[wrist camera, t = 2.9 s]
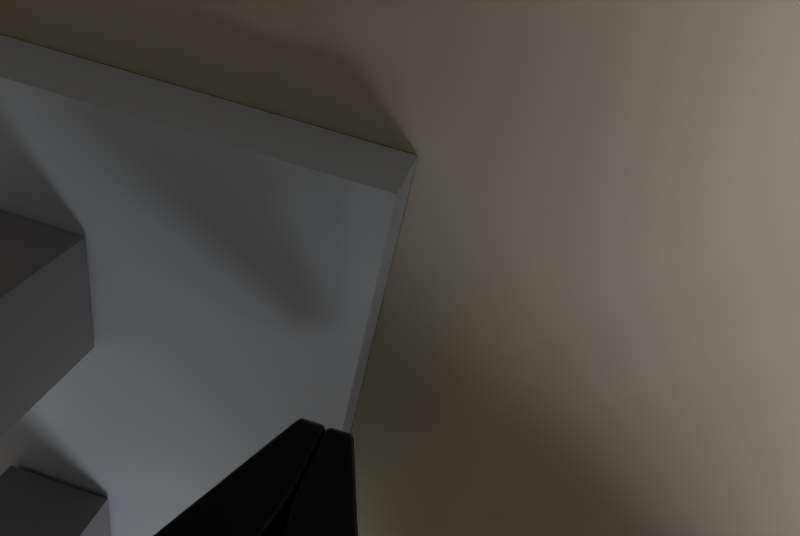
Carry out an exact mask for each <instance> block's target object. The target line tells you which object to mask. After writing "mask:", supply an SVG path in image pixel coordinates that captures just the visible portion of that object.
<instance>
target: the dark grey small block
mask: <svg viewBox="0 0 800 536" xmlns="http://www.w3.org/2000/svg"><path fill="white" fill-rule="evenodd" d="M0 536H111V533H110V522H109V510H108V499H106V498H103V497H100V496H97V495H94V494H91V493H88V492H85V491H83V490H80V489H77V488H74V487H71V486H68V485H65V484H62V483H59V482H57V481H54V480H51V479H48V478H45V477H42V476H39V475H36V474H34V473H31V472H28V471H25V470H22V469H19V468H16V467H13V466H10V467H9V468H8V469H7V470H6V471H5V472H4V473H3V474H2V475H1V476H0Z"/></svg>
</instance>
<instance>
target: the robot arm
mask: <svg viewBox="0 0 800 536" xmlns="http://www.w3.org/2000/svg"><path fill="white" fill-rule="evenodd" d="M153 536H358V526H357V503H356V480H355V457H354V438H353V436H352V435H351V434H350V433H347V432H344V431H341V430H338V429H335V428H327V429H325V427H324V425H322V424H319V423H316V422H313V421H310V420H307V419H303V418H301V419H298V420H297V421H295V422H294V423H293V424H291V425H290V426H289V427H288V428H286V429H285V430H284V431H283V432H281V433H280V434H279V435H278V436H276V437H275V438H274V439H273V440H271V441H270V442H269V443H268V444H266V445H265V446H264V447H263V448H261V449H260V450H259V451H258V452H256V453H255V454H254V455H253V456H251V457H250V458H249V459H248V460H246V461H245V462H244V463H243V464H241V465H240V466H239V467H238V468H237V469H235V470H234V471H233V472H232V473H230V474H229V475H228V476H227V477H225V478H224V479H223V480H222V481H220V482H219V483H218V484H217V485H215V486H214V487H213V488H212V489H210V490H209V491H208V492H207V493H205V494H204V495H203V496H202V497H200V498H199V499H198V500H197V501H195V502H194V503H193V504H192V505H190V506H189V507H188V508H187V509H185V510H184V511H183V512H182V513H180V514H179V515H178V516H177V517H176V518H174V519H173V520H172V521H171V522H169V523H168V524H167V525H166V526H164V527H163V528H162V529H161V530H159V531H158V532H157V533H156V534H154V535H153Z"/></svg>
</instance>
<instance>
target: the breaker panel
mask: <svg viewBox="0 0 800 536" xmlns="http://www.w3.org/2000/svg"><path fill="white" fill-rule="evenodd" d="M417 157H418V156H416V155H413V154H409V153H406V152H403V151H399V150H396V149H392V148H389V147H385V146H382V145H379V144H375V143H372V142H368V141H365V140H361V139H358V138H354V137H351V136H348V135H344V134H341V133H337V132H334V131H330V130H327V129H324V128H320V127H317V126H313V125H310V124H306V123H303V122H300V121H296V120H293V119H289V118H286V117H282V116H279V115H275V114H272V113H269V112H265V111H262V110H258V109H255V108H251V107H248V106H245V105H241V104H238V103H234V102H231V101H227V100H224V99H221V98H217V97H214V96H210V95H207V94H203V93H200V92H196V91H193V90H190V89H186V88H183V87H179V86H176V85H172V84H169V83H166V82H162V81H159V80H155V79H152V78H148V77H145V76H142V75H138V74H135V73H131V72H128V71H124V70H121V69H117V68H114V67H111V66H107V65H104V64H100V63H97V62H93V61H90V60H87V59H83V58H80V57H76V56H73V55H69V54H66V53H63V52H59V51H56V50H52V49H49V48H45V47H42V46H38V45H35V44H32V43H28V42H25V41H21V40H18V39H14V38H11V37H8V36H4V35H1V34H0V211H1V212H5V213H8V214H11V215H14V216H17V217H21V218H24V219H27V220H30V221H33V222H36V223H40V224H43V225H46V226H49V227H52V228H56V229H59V230H62V231H65V232H68V233H71V234H75V235H78V236H81V237H84V238H85V249H86V260H87V271H88V283H89V294H90V305H91V317H92V328H93V340H94V348H93V349H92V350H91V351H90V352H89V353H88V354H87V355H86V356H85V357H84V358H83V359H82V360H80V361H79V362H78V363H77V364H76V365H75V366H74V367H73V368H72V369H71V370H70V371H69V372H68V373H67V374H66V375H65V376H64V377H63V378H62V379H61V380H60V381H59V382H58V383H57V384H56V385H55V386H54V387H53V388H52V389H50V390H49V391H48V392H47V393H46V394H45V395H44V396H43V397H42V398H41V399H40V400H39V401H38V402H37V403H36V404H35V405H34V406H33V407H32V408H31V409H30V410H29V411H28V412H27V413H26V414H25V415H24V416H23V417H22V418H21V419H19V420H18V421H17V422H16V423H15V424H14V425H13V426H12V427H11V428H10V429H9V430H8V431H7V432H6V433H5V434H4V435H3V436H2V437H1V438H0V476H1V475H2V474H3V473H4V472H5V471H6V470H7V469H8V468H9V467H10V466H13V467H16V468H19V469H22V470H25V471H28V472H31V473H34V474H36V475H39V476H42V477H45V478H48V479H51V480H54V481H57V482H59V483H62V484H65V485H68V486H71V487H74V488H77V489H80V490H83V491H85V492H88V493H91V494H94V495H97V496H100V497H103V498H106V499H108V510H109V522H110V533H111V536H153V535H154V534H156V533H157V532H158V531H159V530H161V529H162V528H163V527H164V526H166V525H167V524H168V523H169V522H171V521H172V520H173V519H174V518H176V517H177V516H178V515H179V514H180V513H182V512H183V511H184V510H185V509H187V508H188V507H189V506H190V505H192V504H193V503H194V502H195V501H197V500H198V499H199V498H200V497H202V496H203V495H204V494H205V493H207V492H208V491H209V490H210V489H212V488H213V487H214V486H215V485H217V484H218V483H219V482H220V481H222V480H223V479H224V478H225V477H227V476H228V475H229V474H230V473H232V472H233V471H234V470H235V469H237V468H238V467H239V466H240V465H241V464H243V463H244V462H245V461H246V460H248V459H249V458H250V457H251V456H253V455H254V454H255V453H256V452H258V451H259V450H260V449H261V448H263V447H264V446H265V445H266V444H268V443H269V442H270V441H271V440H273V439H274V438H275V437H276V436H278V435H279V434H280V433H281V432H283V431H284V430H285V429H286V428H288V427H289V426H290V425H291V424H293V423H294V422H295V421H297V420H298V419H301V418H303V419H307V420H310V421H313V422H316V423H319V424H322V425H324V427H325V429H327V428H335V429H338V430H341V431H344V432H347V433H350V432H351V427H352V423H353V419H354V415H355V411H356V407H357V403H358V399H359V395H360V391H361V387H362V382H363V378H364V374H365V370H366V366H367V362H368V358H369V354H370V350H371V346H372V341H373V337H374V333H375V329H376V325H377V321H378V317H379V313H380V309H381V305H382V301H383V296H384V292H385V288H386V284H387V280H388V276H389V272H390V268H391V264H392V260H393V255H394V251H395V247H396V243H397V239H398V235H399V231H400V227H401V223H402V219H403V215H404V210H405V206H406V202H407V198H408V194H409V190H410V186H411V182H412V178H413V174H414V169H415V165H416V161H417Z"/></svg>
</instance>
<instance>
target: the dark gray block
mask: <svg viewBox="0 0 800 536" xmlns="http://www.w3.org/2000/svg"><path fill="white" fill-rule="evenodd" d="M93 348H94V340H93V328H92V317H91V305H90V294H89V283H88V271H87V260H86V249H85V238H84V237H81V236H78V235H75V234H71V233H68V232H65V231H62V230H59V229H56V228H52V227H49V226H46V225H43V224H40V223H36V222H33V221H30V220H27V219H24V218H21V217H17V216H14V215H11V214H8V213H5V212H1V211H0V438H1V437H2V436H3V435H4V434H5V433H6V432H7V431H8V430H9V429H10V428H11V427H12V426H13V425H14V424H15V423H16V422H17V421H18V420H19V419H21V418H22V417H23V416H24V415H25V414H26V413H27V412H28V411H29V410H30V409H31V408H32V407H33V406H34V405H35V404H36V403H37V402H38V401H39V400H40V399H41V398H42V397H43V396H44V395H45V394H46V393H47V392H48V391H49V390H50V389H52V388H53V387H54V386H55V385H56V384H57V383H58V382H59V381H60V380H61V379H62V378H63V377H64V376H65V375H66V374H67V373H68V372H69V371H70V370H71V369H72V368H73V367H74V366H75V365H76V364H77V363H78V362H79V361H80V360H82V359H83V358H84V357H85V356H86V355H87V354H88V353H89V352H90V351H91V350H92V349H93Z"/></svg>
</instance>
